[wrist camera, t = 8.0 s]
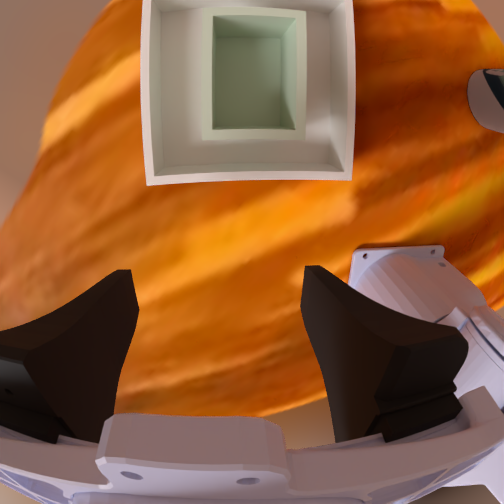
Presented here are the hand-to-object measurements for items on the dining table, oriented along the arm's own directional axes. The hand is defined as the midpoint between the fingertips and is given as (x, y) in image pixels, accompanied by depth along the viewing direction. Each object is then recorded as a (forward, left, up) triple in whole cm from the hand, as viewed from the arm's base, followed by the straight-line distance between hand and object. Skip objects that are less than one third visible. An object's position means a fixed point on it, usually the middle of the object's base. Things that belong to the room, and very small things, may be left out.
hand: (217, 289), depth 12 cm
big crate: (-2, -9, -10) cm, 13 cm away
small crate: (-2, -9, -9) cm, 13 cm away
